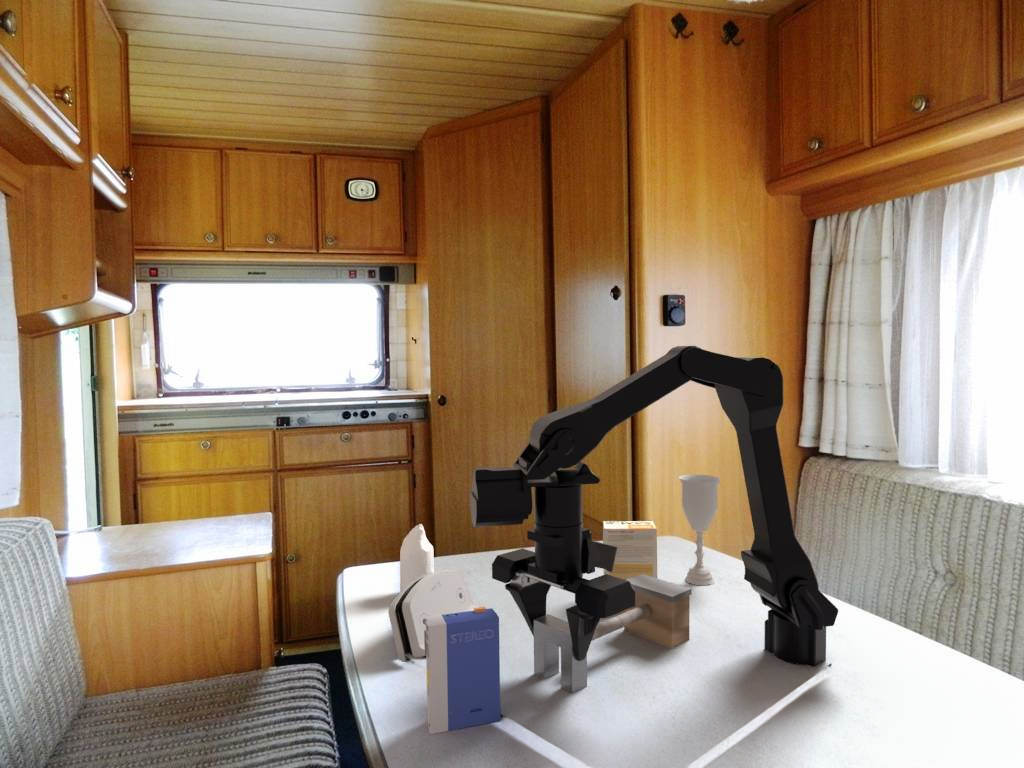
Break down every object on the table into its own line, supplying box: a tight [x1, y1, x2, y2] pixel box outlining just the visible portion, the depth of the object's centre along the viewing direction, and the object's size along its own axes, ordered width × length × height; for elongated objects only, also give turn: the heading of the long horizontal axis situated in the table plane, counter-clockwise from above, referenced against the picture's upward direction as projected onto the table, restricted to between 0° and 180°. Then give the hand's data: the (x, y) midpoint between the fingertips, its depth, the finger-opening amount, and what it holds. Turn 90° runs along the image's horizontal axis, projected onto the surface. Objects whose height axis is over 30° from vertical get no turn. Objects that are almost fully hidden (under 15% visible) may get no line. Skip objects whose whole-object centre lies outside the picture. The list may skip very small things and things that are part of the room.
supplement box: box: [602, 520, 659, 580], centre depth 107 cm, size 8×5×13 cm, turn 84°
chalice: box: [678, 474, 722, 586], centre depth 118 cm, size 7×7×18 cm
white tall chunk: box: [399, 523, 435, 592], centre depth 113 cm, size 6×12×6 cm
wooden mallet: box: [591, 574, 693, 649], centre depth 90 cm, size 18×8×8 cm, turn 132°
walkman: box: [424, 606, 501, 735], centre depth 74 cm, size 8×3×12 cm, turn 107°
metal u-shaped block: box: [533, 613, 588, 694], centre depth 81 cm, size 6×2×7 cm, turn 41°
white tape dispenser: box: [388, 569, 479, 662], centre depth 96 cm, size 17×5×10 cm, turn 157°
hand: (560, 650), depth 81 cm, fingers closed on metal u-shaped block, 6 cm apart
